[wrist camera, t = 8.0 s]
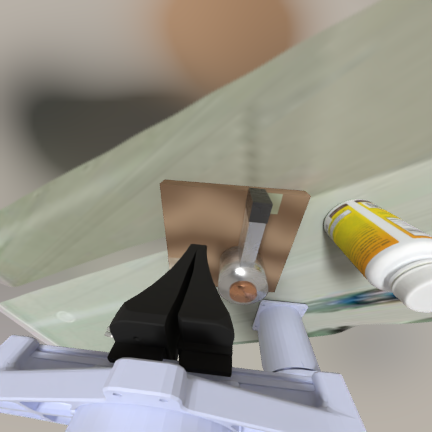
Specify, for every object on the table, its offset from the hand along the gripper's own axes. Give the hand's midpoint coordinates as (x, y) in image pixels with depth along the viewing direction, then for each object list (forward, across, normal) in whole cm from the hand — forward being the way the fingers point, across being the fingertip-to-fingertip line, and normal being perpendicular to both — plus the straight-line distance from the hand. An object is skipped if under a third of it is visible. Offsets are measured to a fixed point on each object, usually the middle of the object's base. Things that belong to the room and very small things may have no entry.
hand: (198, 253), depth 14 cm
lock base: (+8, -3, +4) cm, 9 cm away
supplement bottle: (+8, -17, -1) cm, 19 cm away
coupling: (+6, -5, +3) cm, 8 cm away
